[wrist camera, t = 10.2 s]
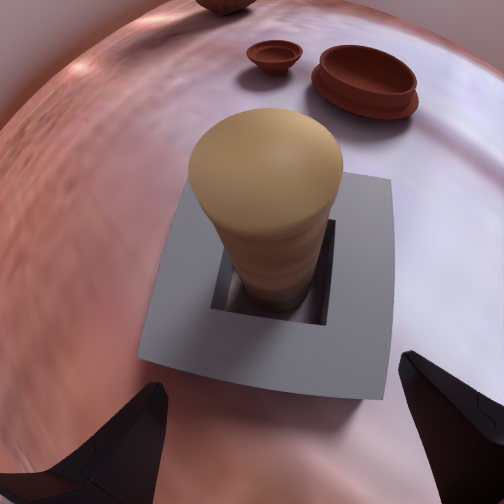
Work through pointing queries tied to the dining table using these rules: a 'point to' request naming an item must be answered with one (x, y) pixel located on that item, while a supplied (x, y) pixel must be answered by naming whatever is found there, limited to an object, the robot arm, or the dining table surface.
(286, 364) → the socket block
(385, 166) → the dining table surface
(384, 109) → the pottery
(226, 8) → the butternut squash
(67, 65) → the dining table surface
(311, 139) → the tan wooden cylinder
